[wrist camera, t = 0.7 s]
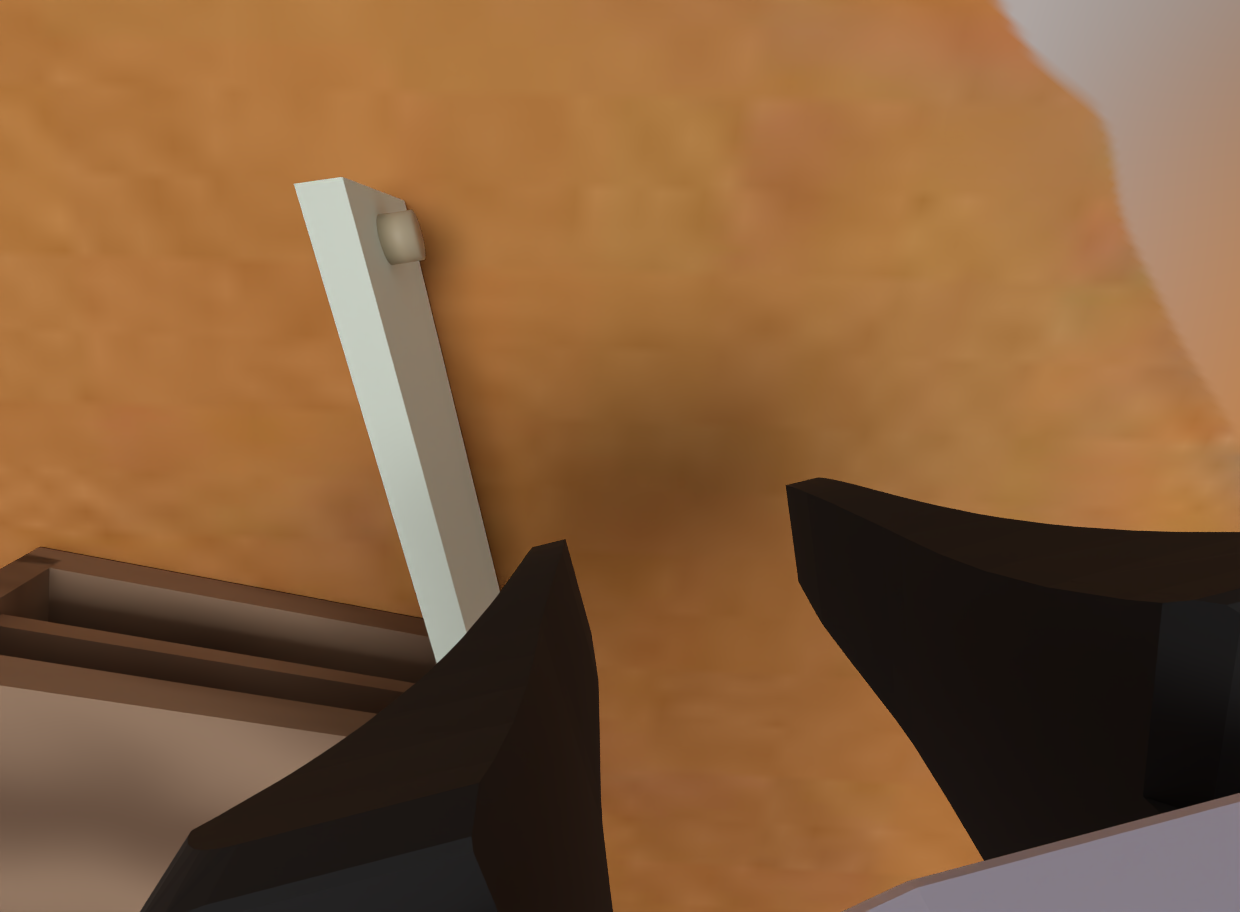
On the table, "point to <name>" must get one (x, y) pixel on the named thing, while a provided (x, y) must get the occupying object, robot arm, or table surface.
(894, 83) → the table surface
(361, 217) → the cabinet door
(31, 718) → the walnut cabinet
